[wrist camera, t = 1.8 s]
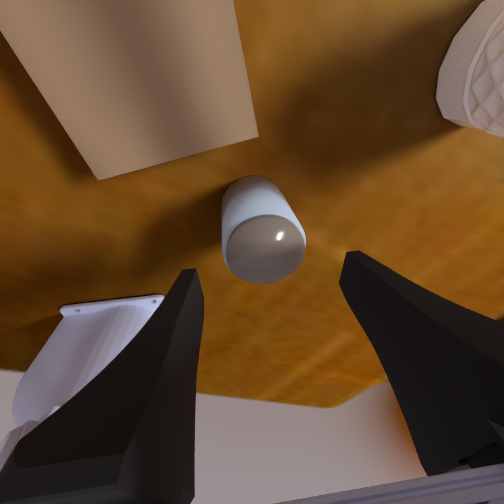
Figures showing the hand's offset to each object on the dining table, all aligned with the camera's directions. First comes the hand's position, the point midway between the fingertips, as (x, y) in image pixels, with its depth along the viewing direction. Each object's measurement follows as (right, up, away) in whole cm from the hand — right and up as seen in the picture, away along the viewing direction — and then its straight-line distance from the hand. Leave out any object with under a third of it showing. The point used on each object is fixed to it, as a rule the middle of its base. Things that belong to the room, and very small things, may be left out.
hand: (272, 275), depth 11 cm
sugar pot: (-1, +5, +7) cm, 8 cm away
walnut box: (-6, +11, +1) cm, 13 cm away
